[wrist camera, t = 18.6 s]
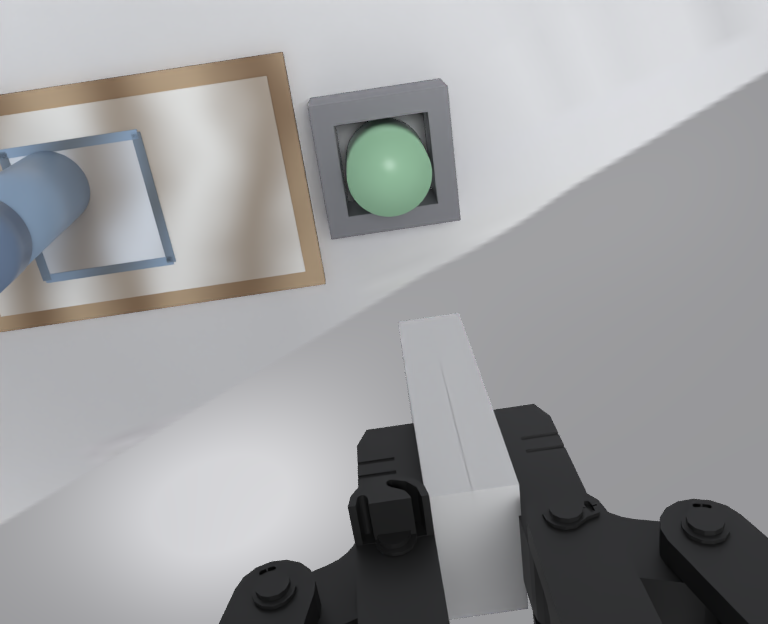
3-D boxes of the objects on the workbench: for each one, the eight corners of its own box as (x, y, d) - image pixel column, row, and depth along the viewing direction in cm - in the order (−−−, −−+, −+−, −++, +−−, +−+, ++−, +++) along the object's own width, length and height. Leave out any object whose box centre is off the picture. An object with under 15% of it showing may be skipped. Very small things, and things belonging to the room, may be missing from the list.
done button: (352, 200, 40) (353, 222, 36) (340, 124, 38) (340, 139, 35) (427, 189, 40) (436, 210, 36) (419, 112, 38) (427, 126, 35)
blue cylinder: (27, 229, 40) (-73, 313, 30) (0, 156, 38) (-116, 220, 28) (100, 217, 40) (23, 298, 30) (77, 144, 38) (-13, 204, 28)
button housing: (332, 222, 42) (331, 239, 39) (310, 98, 39) (307, 106, 36) (452, 204, 41) (460, 220, 39) (440, 78, 38) (447, 85, 36)
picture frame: (-5, 329, 43) (-11, 335, 43) (-95, 109, 38) (-103, 111, 37) (325, 280, 43) (325, 285, 42) (282, 51, 38) (281, 53, 37)
